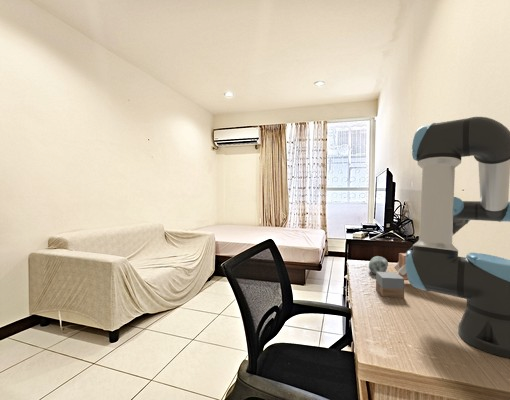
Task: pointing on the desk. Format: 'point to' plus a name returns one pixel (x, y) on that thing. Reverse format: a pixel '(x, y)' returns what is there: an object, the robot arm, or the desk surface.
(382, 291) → the bottom slab
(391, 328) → the desk surface
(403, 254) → the tall block
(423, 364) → the desk surface
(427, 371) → the desk surface
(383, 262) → the spool
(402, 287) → the top slab
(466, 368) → the desk surface
